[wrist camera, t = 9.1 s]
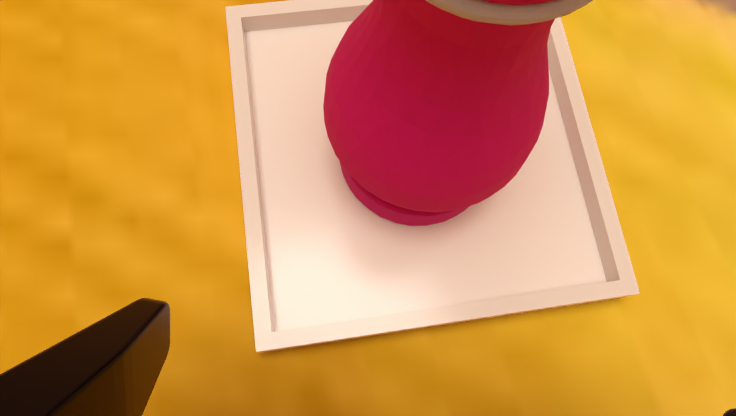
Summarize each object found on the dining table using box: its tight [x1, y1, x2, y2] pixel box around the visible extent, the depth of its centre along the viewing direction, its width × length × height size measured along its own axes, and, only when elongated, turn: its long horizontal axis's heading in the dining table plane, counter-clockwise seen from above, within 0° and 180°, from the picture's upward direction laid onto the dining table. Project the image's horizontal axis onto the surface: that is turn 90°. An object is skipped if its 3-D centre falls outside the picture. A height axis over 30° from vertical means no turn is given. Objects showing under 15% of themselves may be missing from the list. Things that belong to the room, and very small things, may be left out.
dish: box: [226, 0, 640, 352], centre depth 22 cm, size 14×14×2 cm
